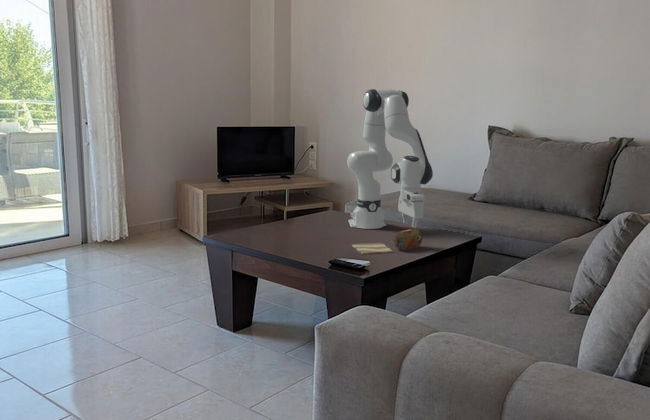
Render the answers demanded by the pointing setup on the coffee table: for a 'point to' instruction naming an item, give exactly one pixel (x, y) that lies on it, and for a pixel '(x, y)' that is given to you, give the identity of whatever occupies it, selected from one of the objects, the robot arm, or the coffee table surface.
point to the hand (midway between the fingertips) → (409, 225)
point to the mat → (372, 248)
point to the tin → (408, 239)
